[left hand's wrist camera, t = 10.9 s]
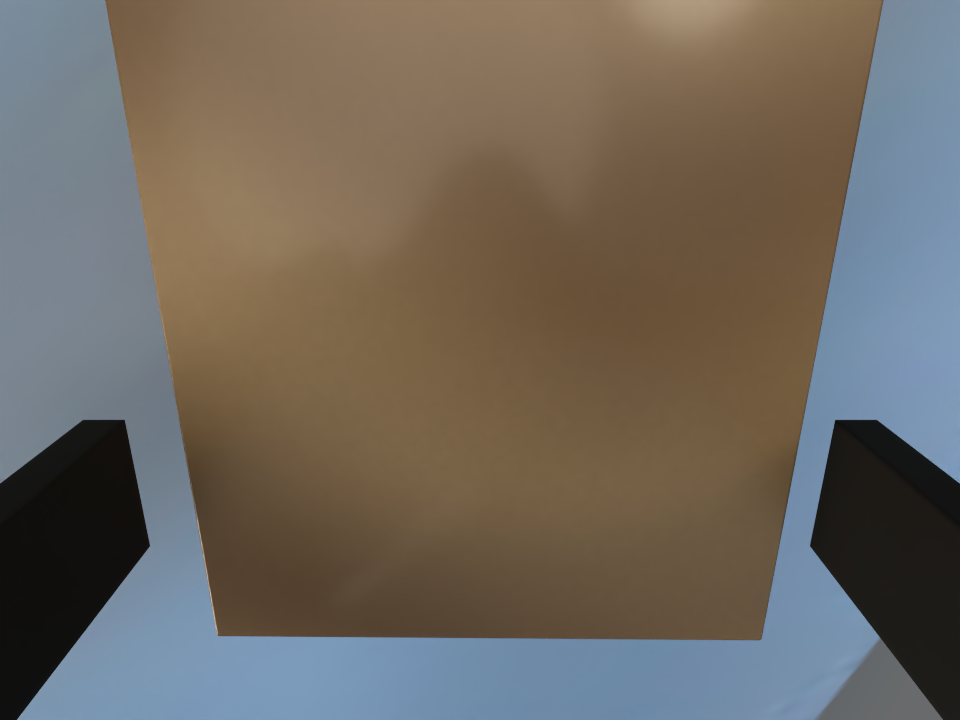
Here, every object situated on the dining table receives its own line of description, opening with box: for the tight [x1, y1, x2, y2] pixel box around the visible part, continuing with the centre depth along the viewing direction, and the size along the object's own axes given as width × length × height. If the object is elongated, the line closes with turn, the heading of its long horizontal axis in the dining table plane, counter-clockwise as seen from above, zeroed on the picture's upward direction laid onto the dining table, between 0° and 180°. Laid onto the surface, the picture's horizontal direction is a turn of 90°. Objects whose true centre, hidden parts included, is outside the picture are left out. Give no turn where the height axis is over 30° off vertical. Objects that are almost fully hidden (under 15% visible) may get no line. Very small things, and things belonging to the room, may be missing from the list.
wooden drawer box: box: [106, 0, 883, 640], centre depth 16 cm, size 21×11×12 cm, turn 0°
